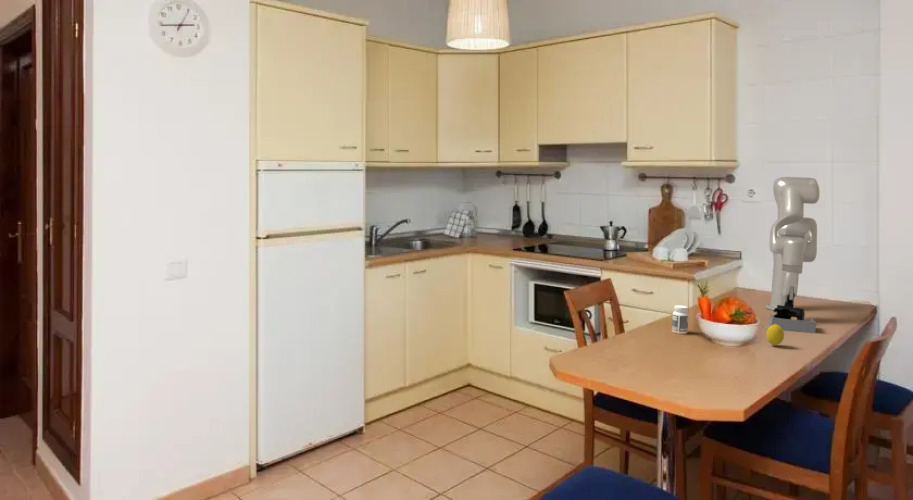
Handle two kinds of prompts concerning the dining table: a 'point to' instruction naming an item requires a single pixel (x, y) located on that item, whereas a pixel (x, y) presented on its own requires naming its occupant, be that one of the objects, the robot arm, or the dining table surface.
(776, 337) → the lemon
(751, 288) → the dining table surface
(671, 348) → the dining table surface
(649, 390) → the dining table surface
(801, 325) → the steel cradle
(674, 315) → the pill bottle
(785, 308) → the end cap
